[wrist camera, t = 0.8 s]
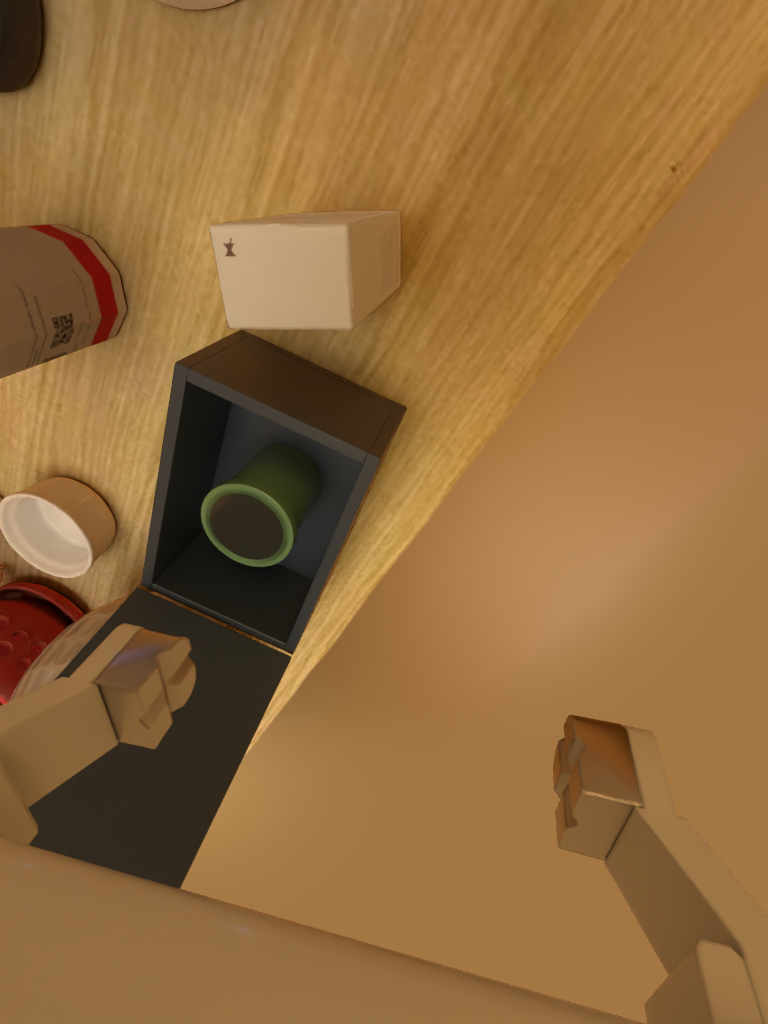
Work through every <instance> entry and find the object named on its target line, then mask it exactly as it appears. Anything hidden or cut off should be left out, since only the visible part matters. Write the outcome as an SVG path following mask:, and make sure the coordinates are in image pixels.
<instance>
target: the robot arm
mask: <svg viewBox="0 0 768 1024" xmlns="http://www.w3.org/2000/svg"><path fill="white" fill-rule="evenodd" d="M157 1H159V2H161V3H164V4H167V5H170V6H173V7H177V8H182V9H190V10H204V9H212V8H217V7H221V6H224V5H227V4H229V3H232V2H234V1H236V0H157ZM191 650H192V647H191V644H190V640H189V638H187V637H183V636H179V635H175V634H170V633H166V632H162V631H157V630H153V629H149V628H145V627H140V626H135V625H130V624H126V623H124V624H122V625H120V626H118V627H116V628H115V629H114V630H113V631H112V632H111V633H110V635H109V636H108V637H107V638H106V639H105V640H104V641H103V642H102V643H101V644H100V645H99V646H98V647H97V648H96V649H95V650H94V651H93V653H92V654H91V655H90V656H89V657H88V658H87V659H86V660H85V661H84V662H83V663H82V664H81V665H80V666H79V667H78V668H77V670H76V671H75V672H74V673H73V674H72V675H71V676H70V677H69V678H67V677H61V678H59V679H56V680H54V681H52V682H50V683H48V684H46V685H44V686H42V687H39V688H37V689H35V690H33V691H31V692H29V693H27V694H25V695H22V696H20V697H18V698H16V699H14V700H12V701H10V702H7V703H5V704H3V705H1V706H0V1024H645V1023H641V1022H637V1021H634V1020H631V1019H627V1018H623V1017H620V1016H617V1015H613V1014H610V1013H606V1012H603V1011H600V1010H596V1009H593V1008H589V1007H585V1006H582V1005H579V1004H576V1003H572V1002H569V1001H565V1000H562V999H558V998H555V997H551V996H548V995H544V994H541V993H538V992H534V991H531V990H527V989H524V988H520V987H517V986H513V985H510V984H507V983H503V982H500V981H496V980H493V979H489V978H486V977H482V976H479V975H475V974H472V973H469V972H465V971H462V970H458V969H455V968H451V967H448V966H444V965H441V964H437V963H434V962H430V961H427V960H424V959H420V958H417V957H413V956H410V955H406V954H403V953H399V952H396V951H393V950H389V949H386V948H382V947H379V946H375V945H372V944H368V943H365V942H361V941H358V940H355V939H351V938H348V937H344V936H341V935H337V934H334V933H330V932H327V931H323V930H320V929H316V928H313V927H310V926H306V925H303V924H299V923H296V922H292V921H289V920H286V919H282V918H278V917H275V916H272V915H268V914H265V913H261V912H258V911H255V910H251V909H248V908H244V907H240V906H237V905H234V904H230V903H227V902H223V901H220V900H217V899H213V898H210V897H206V896H203V895H199V894H196V893H192V892H189V891H185V890H182V889H179V888H175V887H172V886H168V885H165V884H161V883H158V882H154V881H151V880H147V879H144V878H140V877H137V876H134V875H130V874H127V873H123V872H120V871H116V870H113V869H109V868H106V867H102V866H99V865H96V864H92V863H89V862H85V861H82V860H78V859H75V858H71V857H68V856H64V855H61V854H57V853H54V852H51V851H47V850H44V849H40V848H37V847H33V846H30V845H29V844H30V843H31V841H32V840H33V838H34V837H35V836H36V834H37V833H38V824H37V823H36V821H35V819H34V817H33V816H32V814H31V812H30V810H29V809H28V807H29V806H31V805H32V804H34V803H35V802H37V801H38V800H39V799H41V798H42V797H44V796H45V795H47V794H48V793H49V792H51V791H52V790H54V789H55V788H57V787H58V786H59V785H61V784H62V783H64V782H65V781H66V780H68V779H69V778H71V777H72V776H74V775H75V774H76V773H78V772H79V771H81V770H82V769H84V768H85V767H86V766H88V765H89V764H91V763H92V762H94V761H95V760H96V759H98V758H99V757H101V756H102V755H104V754H105V753H106V752H108V751H109V750H111V749H112V748H113V747H115V746H116V745H118V742H123V743H127V744H132V745H137V746H142V747H146V748H151V749H156V747H157V746H158V744H159V743H160V741H161V740H162V738H163V737H164V735H165V734H166V732H167V731H168V729H169V728H170V726H171V725H172V723H173V720H172V712H174V711H175V710H177V709H179V708H180V707H182V706H184V705H185V703H186V702H187V700H188V698H189V697H190V695H191V693H192V690H193V687H194V685H195V682H196V666H195V663H194V662H193V661H192V659H191V658H190V657H189V656H188V654H189V652H190V651H191ZM564 734H565V738H563V739H561V740H559V741H558V745H557V748H556V751H555V758H554V764H553V783H554V790H555V792H556V793H557V795H558V796H559V798H560V802H559V804H558V807H557V809H556V812H555V813H556V828H557V841H558V848H560V849H564V850H568V851H571V852H575V853H579V854H582V855H586V856H590V857H593V858H597V859H601V860H604V861H605V865H606V867H607V868H608V870H609V872H610V874H611V875H612V877H613V879H614V880H615V882H616V884H617V886H618V888H619V889H620V891H621V893H622V894H623V896H624V898H625V899H626V901H627V903H628V905H629V907H630V908H631V910H632V912H633V914H634V915H635V917H636V919H637V921H638V922H639V924H640V926H641V928H642V929H643V931H644V933H645V935H646V936H647V938H648V940H649V942H650V943H651V945H652V947H653V949H654V950H655V952H656V954H657V956H658V957H659V959H660V961H661V962H662V964H663V966H664V968H665V969H666V971H667V973H668V975H669V976H668V977H667V979H666V980H665V981H664V982H663V983H662V984H661V986H660V987H659V988H658V989H657V990H656V991H655V993H653V995H652V996H651V997H650V998H649V999H648V1000H647V1002H646V1003H645V1010H646V1017H647V1024H768V915H767V914H766V913H765V912H764V911H763V910H762V908H761V907H760V906H759V905H758V904H757V902H756V901H755V900H754V899H753V898H752V896H751V895H750V894H749V893H748V892H747V890H746V889H745V888H744V887H743V886H742V885H741V883H740V882H739V881H738V880H737V879H736V877H735V876H734V875H733V874H732V873H731V871H730V870H729V869H728V868H727V867H726V866H725V864H724V863H723V862H722V861H721V860H720V859H719V857H718V856H717V855H716V854H715V853H714V851H713V850H712V849H711V848H710V847H709V845H708V844H707V843H706V842H705V841H704V839H703V838H702V837H701V836H700V835H699V834H698V832H697V831H696V830H695V829H694V828H693V827H692V825H691V824H690V823H689V822H688V821H687V819H686V818H683V817H679V816H677V815H676V811H675V807H674V804H673V800H672V796H671V793H670V789H669V786H668V781H667V778H666V774H665V770H664V767H663V763H662V759H661V755H660V752H659V748H658V744H657V741H656V737H655V735H654V734H653V733H652V731H648V730H644V729H639V728H634V727H629V726H622V725H621V724H616V723H611V722H606V721H600V720H595V719H590V718H585V717H579V716H574V715H569V716H568V718H567V719H566V722H565V725H564Z"/></svg>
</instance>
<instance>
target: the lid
mask: <svg viewBox="0 0 768 1024" xmlns="http://www.w3.org/2000/svg"><path fill="white" fill-rule="evenodd" d="M124 623H126V624H130V625H135V626H140V627H145V628H149V629H153V630H157V631H162V632H166V633H170V634H175V635H179V636H183V637H187V638H189V640H190V644H191V647H192V650H191V651H190V652H189V654H188V656H189V657H190V658H191V659H192V661H193V662H194V663H195V666H196V682H195V685H194V687H193V690H192V693H191V695H190V697H189V698H188V700H187V702H186V703H185V705H184V706H182V707H180V708H179V709H177V710H175V711H174V712H172V720H173V723H172V725H171V726H170V728H169V729H168V731H167V732H166V734H165V735H164V737H163V738H162V740H161V741H160V743H159V744H158V746H157V747H156V749H151V748H146V747H142V746H137V745H132V744H127V743H123V742H118V745H116V746H115V747H113V748H112V749H111V750H109V751H108V752H106V753H105V754H104V755H102V756H101V757H99V758H98V759H96V760H95V761H94V762H92V763H91V764H89V765H88V766H86V767H85V768H84V769H82V770H81V771H79V772H78V773H76V774H75V775H74V776H72V777H71V778H69V779H68V780H66V781H65V782H64V783H62V784H61V785H59V786H58V787H57V788H55V789H54V790H52V791H51V792H49V793H48V794H47V795H45V796H44V797H42V798H41V799H39V800H38V801H37V802H35V803H34V804H32V805H31V806H29V807H28V809H29V810H30V812H31V814H32V816H33V817H34V819H35V821H36V823H37V824H38V833H37V834H36V836H35V837H34V838H33V840H32V841H31V843H30V844H29V845H30V846H33V847H37V848H40V849H44V850H47V851H51V852H54V853H57V854H61V855H64V856H68V857H71V858H75V859H78V860H82V861H85V862H89V863H92V864H96V865H99V866H102V867H106V868H109V869H113V870H116V871H120V872H123V873H127V874H130V875H134V876H137V877H140V878H144V879H147V880H151V881H154V882H158V883H161V884H165V885H168V886H172V887H175V888H179V889H180V888H181V885H182V883H183V881H184V879H185V877H186V875H187V873H188V871H189V869H190V867H191V865H192V863H193V861H194V859H195V856H196V854H197V852H198V850H199V848H200V846H201V844H202V842H203V840H204V838H205V836H206V834H207V832H208V830H209V827H210V825H211V823H212V821H213V819H214V817H215V815H216V813H217V811H218V808H219V807H220V805H221V803H222V801H223V798H224V796H225V794H226V792H227V790H228V788H229V786H230V784H231V782H232V780H233V778H234V776H235V774H236V771H237V769H238V767H239V765H240V763H241V761H242V759H243V757H244V755H245V753H246V751H247V749H248V747H249V745H250V743H251V740H252V738H253V736H254V734H255V732H256V730H257V728H258V726H259V724H260V722H261V720H262V718H263V716H264V714H265V711H266V709H267V707H268V705H269V703H270V701H271V699H272V697H273V695H274V693H275V691H276V689H277V687H278V685H279V683H280V680H281V678H282V676H283V674H284V672H285V670H286V668H287V666H288V664H289V662H290V659H291V657H290V656H288V655H286V654H284V653H281V652H279V651H277V650H275V649H273V648H270V647H268V646H266V645H264V644H262V643H259V642H257V641H255V640H253V639H251V638H248V637H246V636H244V635H242V634H240V633H237V632H235V631H233V630H231V629H229V628H226V627H224V626H222V625H220V624H218V623H215V622H213V621H211V620H209V619H207V618H204V617H202V616H200V615H198V614H196V613H193V612H191V611H189V610H187V609H185V608H183V607H180V606H178V605H176V604H174V603H172V602H169V601H167V600H165V599H163V598H161V597H158V596H156V595H154V594H152V593H150V592H147V591H145V590H143V589H141V588H139V587H137V588H136V589H135V590H134V591H133V592H132V593H131V595H130V596H129V597H128V598H127V599H126V600H125V601H124V602H123V603H122V605H121V606H120V607H119V608H118V609H117V610H116V611H115V612H114V614H113V615H112V616H111V617H110V618H109V619H108V620H107V621H106V623H105V624H104V625H103V626H102V627H101V628H100V629H99V630H98V631H97V633H96V634H95V635H94V636H93V637H92V638H91V639H90V640H89V642H88V643H87V644H86V645H85V646H84V647H83V648H82V649H81V650H80V652H79V653H78V654H77V655H76V656H75V657H74V658H73V659H72V661H71V662H70V663H69V664H68V665H67V666H66V667H65V668H64V670H63V671H62V672H61V673H60V674H59V675H58V676H57V677H56V678H55V680H56V679H59V678H61V677H67V678H69V677H70V676H71V675H72V674H73V673H74V672H75V671H76V670H77V668H78V667H79V666H80V665H81V664H82V663H83V662H84V661H85V660H86V659H87V658H88V657H89V656H90V655H91V654H92V653H93V651H94V650H95V649H96V648H97V647H98V646H99V645H100V644H101V643H102V642H103V641H104V640H105V639H106V638H107V637H108V636H109V635H110V633H111V632H112V631H113V630H114V629H115V628H116V627H118V626H120V625H122V624H124Z"/></svg>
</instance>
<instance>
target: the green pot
mask: <svg viewBox="0 0 768 1024" xmlns="http://www.w3.org/2000/svg"><path fill="white" fill-rule="evenodd" d="M321 492H322V479H321V475H320V472H319V470H318V468H317V466H316V465H315V463H314V462H313V461H312V460H311V459H310V457H309V456H307V455H306V454H305V453H304V452H302V451H301V450H299V449H297V448H295V447H292V446H289V445H285V444H271V445H267V446H264V447H262V448H261V449H259V450H258V451H257V452H256V453H255V454H254V455H253V456H252V457H251V458H250V459H249V460H248V461H247V462H246V463H245V464H244V465H243V466H242V467H241V468H240V469H239V470H238V471H237V472H236V473H235V474H234V475H233V476H232V477H231V478H230V479H229V480H226V481H224V482H221V483H220V484H218V485H217V486H215V487H214V488H213V489H212V490H211V491H210V492H209V493H208V494H207V496H206V497H205V499H204V501H203V503H202V507H201V520H202V524H203V528H204V530H205V532H206V534H207V536H208V537H209V539H210V540H211V542H212V543H213V544H214V545H215V546H216V547H217V548H218V549H219V550H220V551H221V552H222V553H223V554H225V555H226V556H228V557H229V558H231V559H233V560H235V561H237V562H239V563H242V564H245V565H248V566H254V567H266V566H271V565H274V564H277V563H279V562H281V561H282V560H283V559H285V558H286V557H287V555H288V554H289V553H290V551H291V550H292V548H293V546H294V544H295V542H296V538H297V532H298V531H299V529H300V527H301V526H302V524H303V523H304V521H305V520H306V518H307V517H308V515H309V514H310V512H311V510H312V509H313V507H314V506H315V504H316V503H317V501H318V500H319V498H320V495H321Z"/></svg>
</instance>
